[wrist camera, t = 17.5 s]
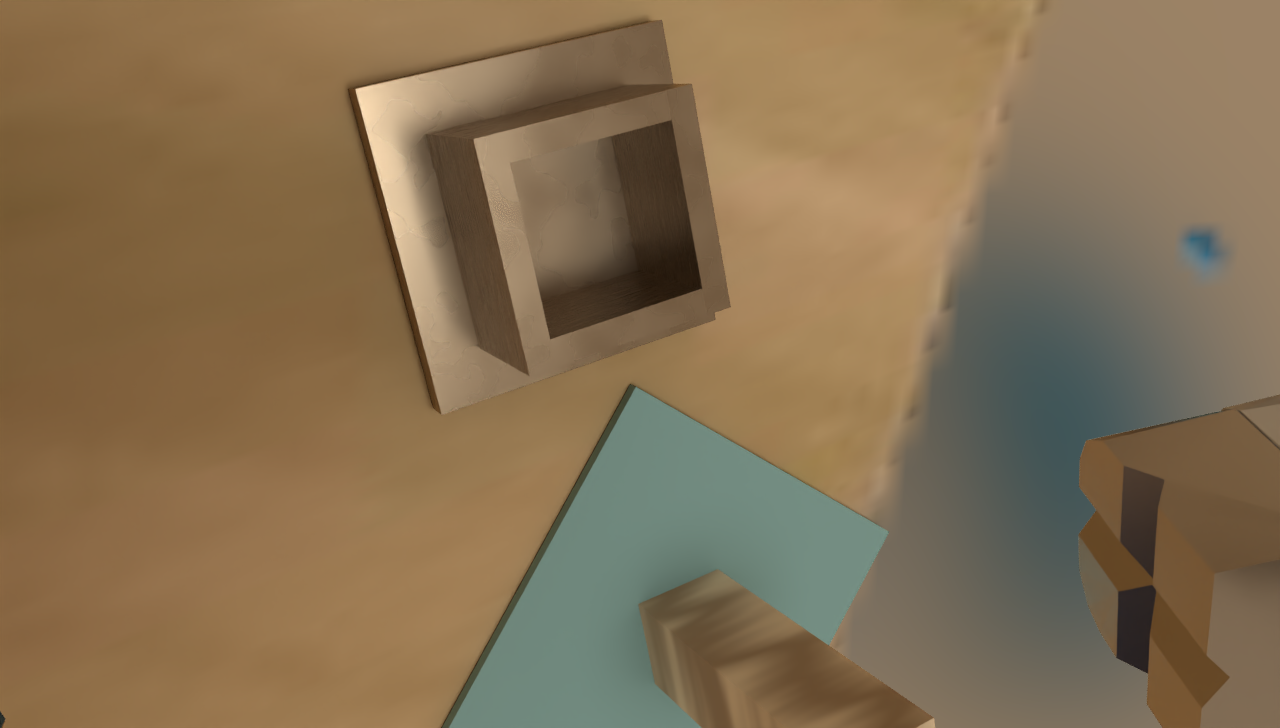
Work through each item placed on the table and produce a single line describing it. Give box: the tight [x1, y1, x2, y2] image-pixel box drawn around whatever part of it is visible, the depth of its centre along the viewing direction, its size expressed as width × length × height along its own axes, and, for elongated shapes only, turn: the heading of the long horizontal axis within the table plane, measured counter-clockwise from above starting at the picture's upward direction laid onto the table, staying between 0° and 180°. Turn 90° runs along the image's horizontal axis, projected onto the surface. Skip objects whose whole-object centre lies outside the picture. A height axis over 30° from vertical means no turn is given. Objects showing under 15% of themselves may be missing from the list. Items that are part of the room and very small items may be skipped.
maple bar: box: [638, 569, 935, 728], centre depth 45 cm, size 4×4×14 cm
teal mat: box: [442, 384, 889, 728], centre depth 51 cm, size 16×16×1 cm
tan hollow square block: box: [348, 20, 731, 415], centre depth 42 cm, size 12×12×6 cm
